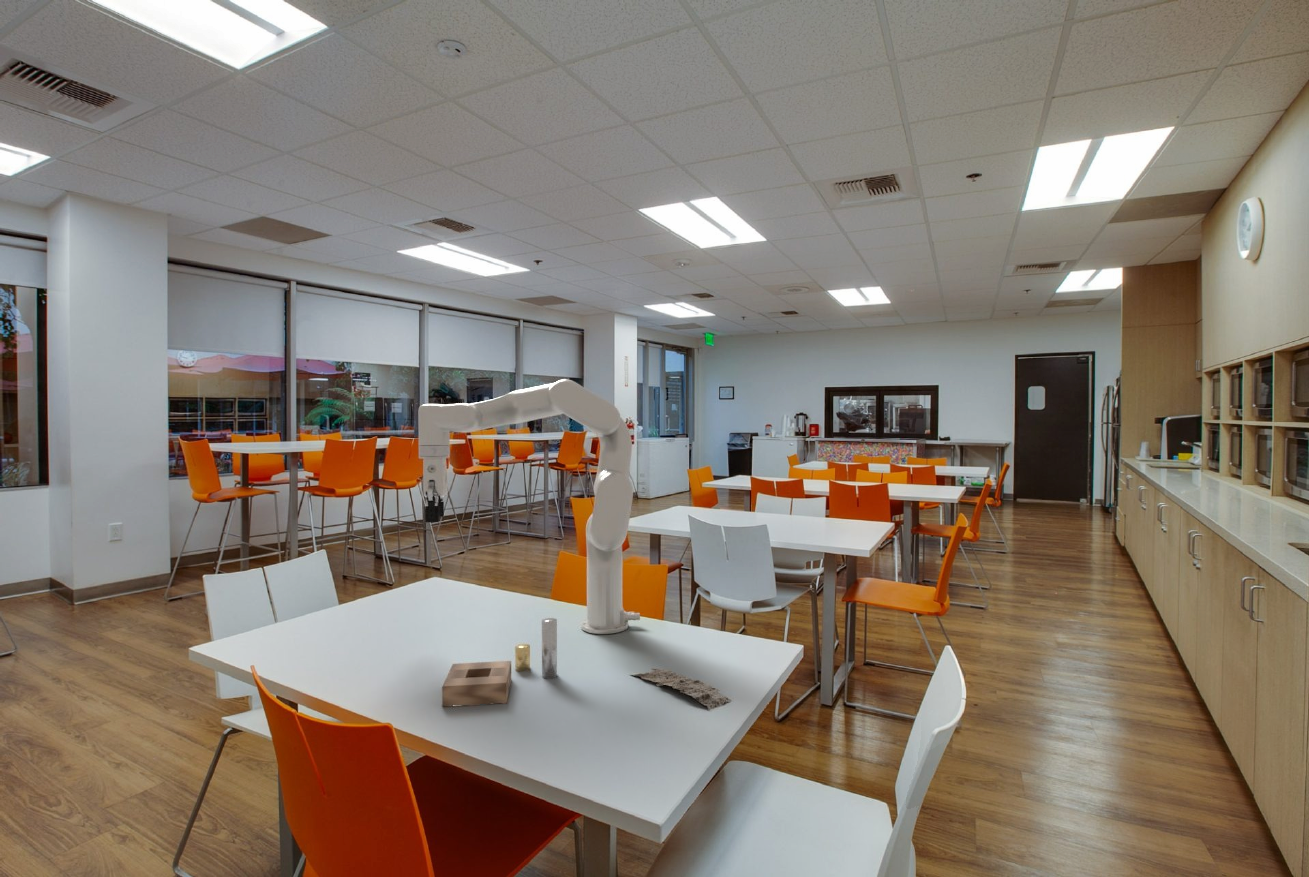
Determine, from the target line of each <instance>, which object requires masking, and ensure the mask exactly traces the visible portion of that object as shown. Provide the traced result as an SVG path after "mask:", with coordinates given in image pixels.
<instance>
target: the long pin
mask: <svg viewBox="0 0 1309 877" xmlns="http://www.w3.org/2000/svg"><path fill="white" fill-rule="evenodd" d="M557 623H558V619H557V618H554V617H547V618H543V619H541V677H542V678H544V679H554V678H556V677H557V676H558V631H557V630H558V626H557V625H558V624H557Z"/></svg>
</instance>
